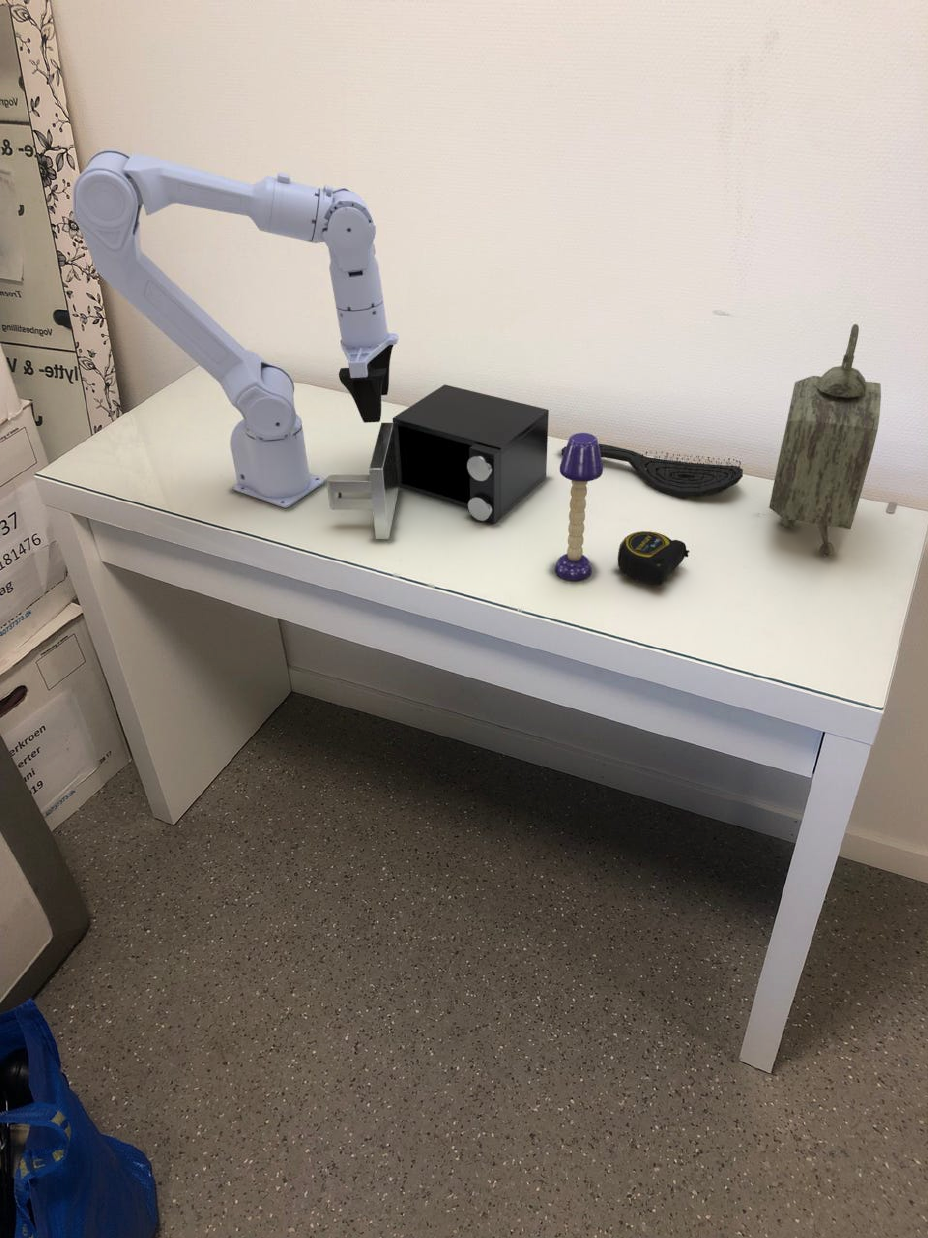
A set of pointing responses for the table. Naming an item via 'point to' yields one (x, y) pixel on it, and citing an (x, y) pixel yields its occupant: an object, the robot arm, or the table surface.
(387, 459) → the microwave door
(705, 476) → the hairbrush
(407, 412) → the microwave
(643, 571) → the tape measure
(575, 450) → the toy lamp
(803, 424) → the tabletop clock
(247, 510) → the table surface
